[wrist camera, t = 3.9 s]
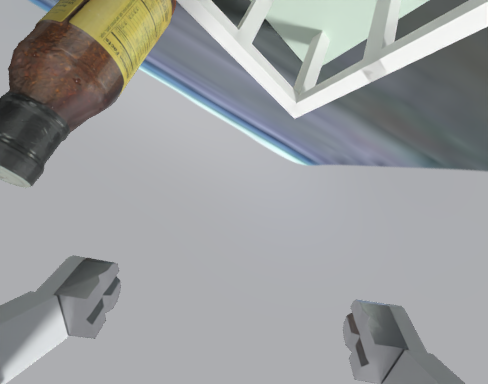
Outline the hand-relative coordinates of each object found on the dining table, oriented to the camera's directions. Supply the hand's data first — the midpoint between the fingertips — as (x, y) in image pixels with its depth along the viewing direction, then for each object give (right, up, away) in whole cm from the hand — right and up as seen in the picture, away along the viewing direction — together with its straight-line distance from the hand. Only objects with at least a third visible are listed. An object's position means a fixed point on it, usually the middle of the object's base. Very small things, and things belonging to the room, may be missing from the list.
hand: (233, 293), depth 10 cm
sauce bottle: (-8, +22, +15) cm, 27 cm away
